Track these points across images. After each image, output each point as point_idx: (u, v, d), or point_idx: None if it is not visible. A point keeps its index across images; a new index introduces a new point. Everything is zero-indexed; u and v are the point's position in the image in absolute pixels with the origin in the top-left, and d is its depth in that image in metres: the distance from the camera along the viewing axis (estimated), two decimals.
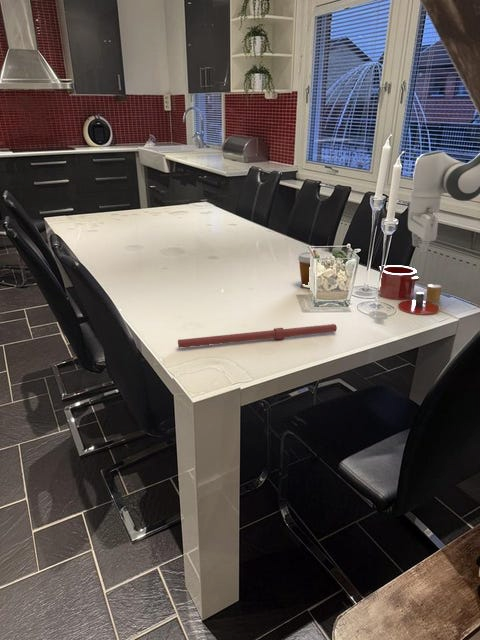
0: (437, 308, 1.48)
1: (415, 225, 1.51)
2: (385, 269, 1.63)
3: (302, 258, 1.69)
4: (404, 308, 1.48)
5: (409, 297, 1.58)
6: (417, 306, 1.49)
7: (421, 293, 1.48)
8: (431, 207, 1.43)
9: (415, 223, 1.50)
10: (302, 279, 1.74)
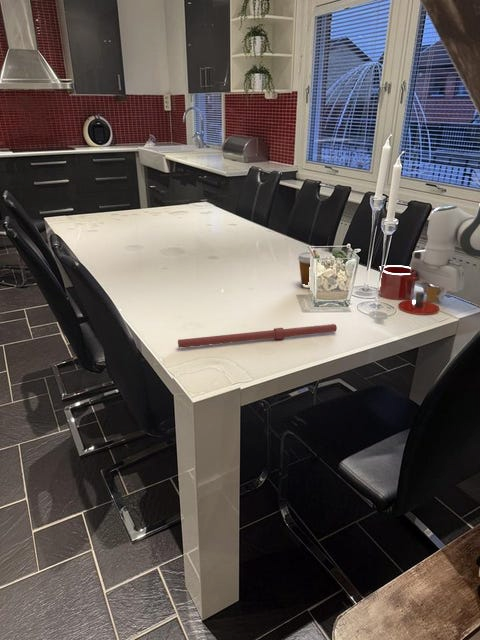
0: (437, 308, 1.48)
1: (428, 275, 1.54)
2: (385, 269, 1.63)
3: (302, 258, 1.69)
4: (404, 308, 1.48)
5: (409, 297, 1.58)
6: (417, 306, 1.49)
7: (421, 293, 1.48)
8: (451, 258, 1.48)
9: (429, 273, 1.54)
10: (302, 279, 1.74)
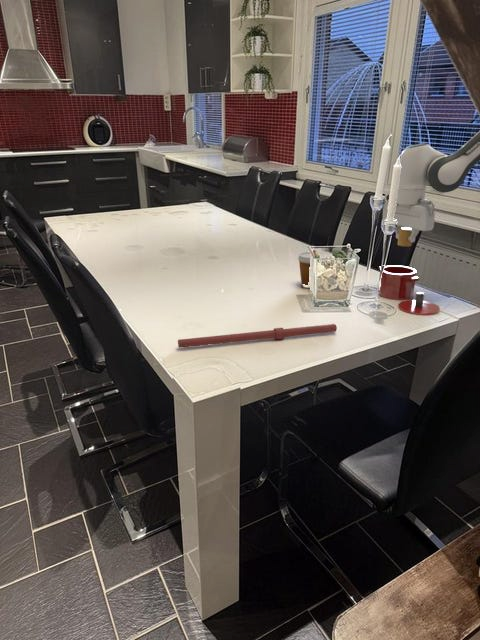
0: (437, 308, 1.48)
1: (400, 217, 1.53)
2: (385, 269, 1.63)
3: (302, 258, 1.69)
4: (404, 308, 1.48)
5: (409, 297, 1.58)
6: (417, 306, 1.49)
7: (421, 293, 1.48)
8: (421, 198, 1.47)
9: (400, 215, 1.53)
10: (302, 279, 1.74)
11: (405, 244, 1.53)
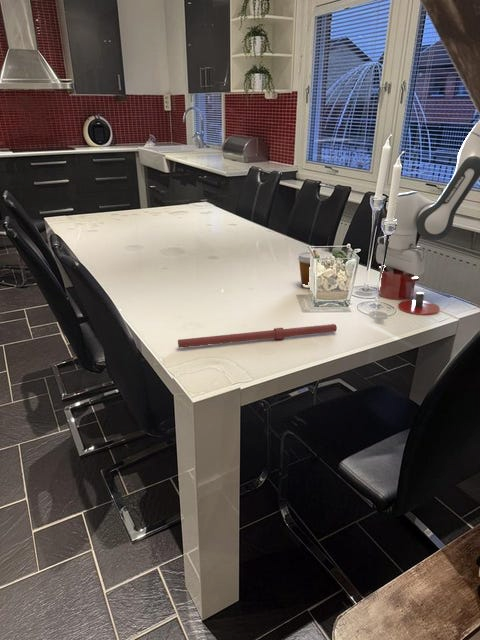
0: (437, 308, 1.48)
1: (392, 259, 1.59)
2: (385, 269, 1.63)
3: (302, 258, 1.69)
4: (404, 308, 1.48)
5: (409, 297, 1.58)
6: (417, 306, 1.49)
7: (421, 293, 1.48)
8: (412, 243, 1.53)
9: (393, 258, 1.59)
10: (302, 279, 1.74)
11: None
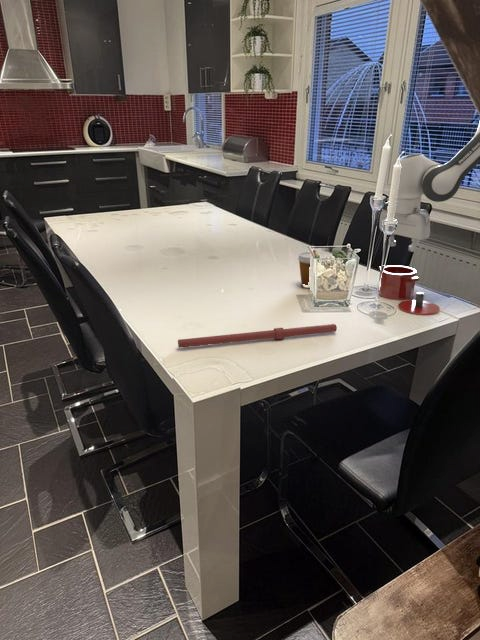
0: (437, 308, 1.48)
1: None
2: (385, 269, 1.63)
3: (302, 258, 1.69)
4: (404, 308, 1.48)
5: (409, 297, 1.58)
6: (417, 306, 1.49)
7: (421, 293, 1.48)
8: (417, 207, 1.48)
9: None
10: (302, 279, 1.74)
11: None
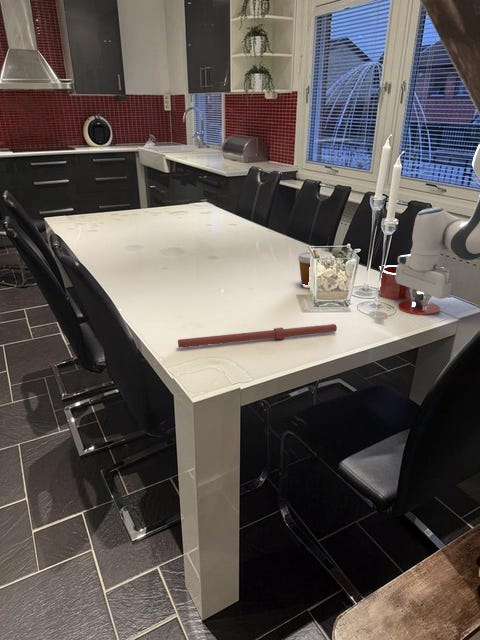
0: (437, 308, 1.48)
1: (414, 281, 1.47)
2: (385, 269, 1.63)
3: (302, 258, 1.69)
4: (404, 308, 1.48)
5: (409, 297, 1.58)
6: (417, 306, 1.49)
7: (421, 293, 1.48)
8: (437, 264, 1.41)
9: (414, 279, 1.47)
10: (302, 279, 1.74)
11: None
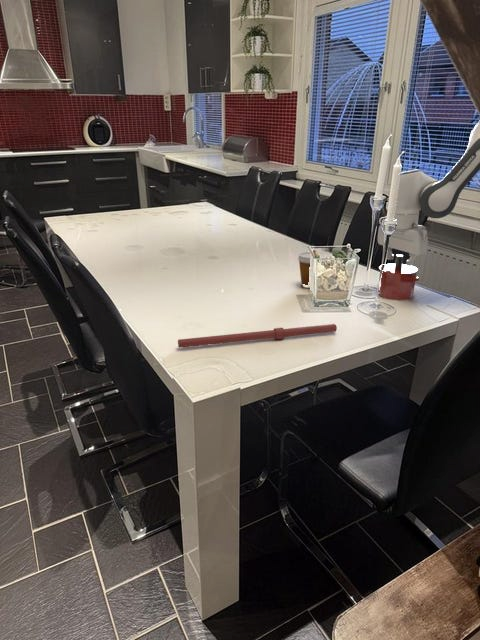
0: (415, 269, 1.57)
1: (394, 240, 1.57)
2: None
3: (302, 258, 1.69)
4: (385, 270, 1.58)
5: (409, 297, 1.58)
6: (397, 268, 1.58)
7: (400, 255, 1.57)
8: (415, 222, 1.50)
9: (394, 238, 1.56)
10: (302, 279, 1.74)
11: None
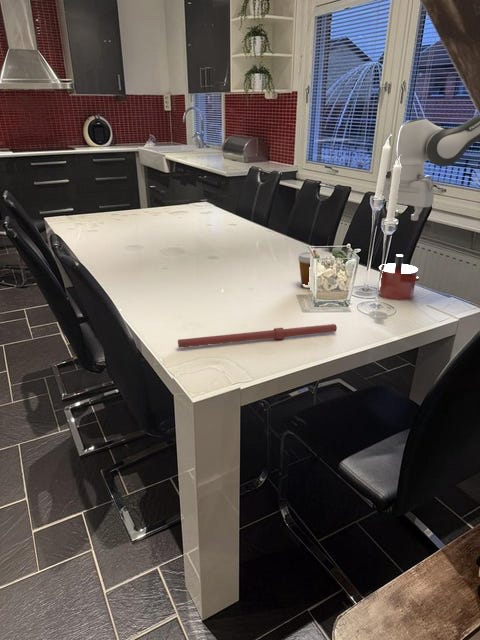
0: (415, 269, 1.57)
1: (398, 194, 1.51)
2: None
3: (302, 258, 1.69)
4: (385, 270, 1.58)
5: (409, 297, 1.58)
6: (397, 268, 1.58)
7: (400, 255, 1.57)
8: (420, 174, 1.45)
9: (399, 192, 1.51)
10: (302, 279, 1.74)
11: None
